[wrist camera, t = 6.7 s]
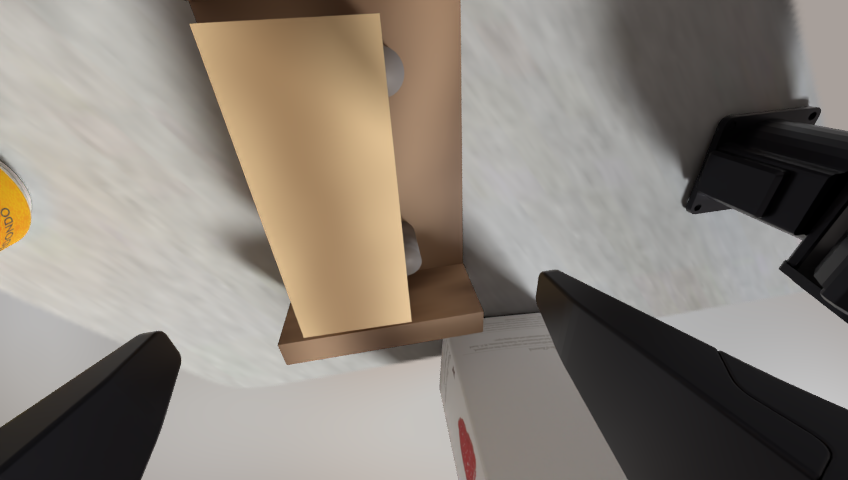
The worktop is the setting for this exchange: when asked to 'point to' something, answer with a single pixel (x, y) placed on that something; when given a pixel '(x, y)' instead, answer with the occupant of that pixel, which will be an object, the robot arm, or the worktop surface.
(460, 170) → the peg frame
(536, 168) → the worktop surface
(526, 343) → the supplement box
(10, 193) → the beer can
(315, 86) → the shelf board
